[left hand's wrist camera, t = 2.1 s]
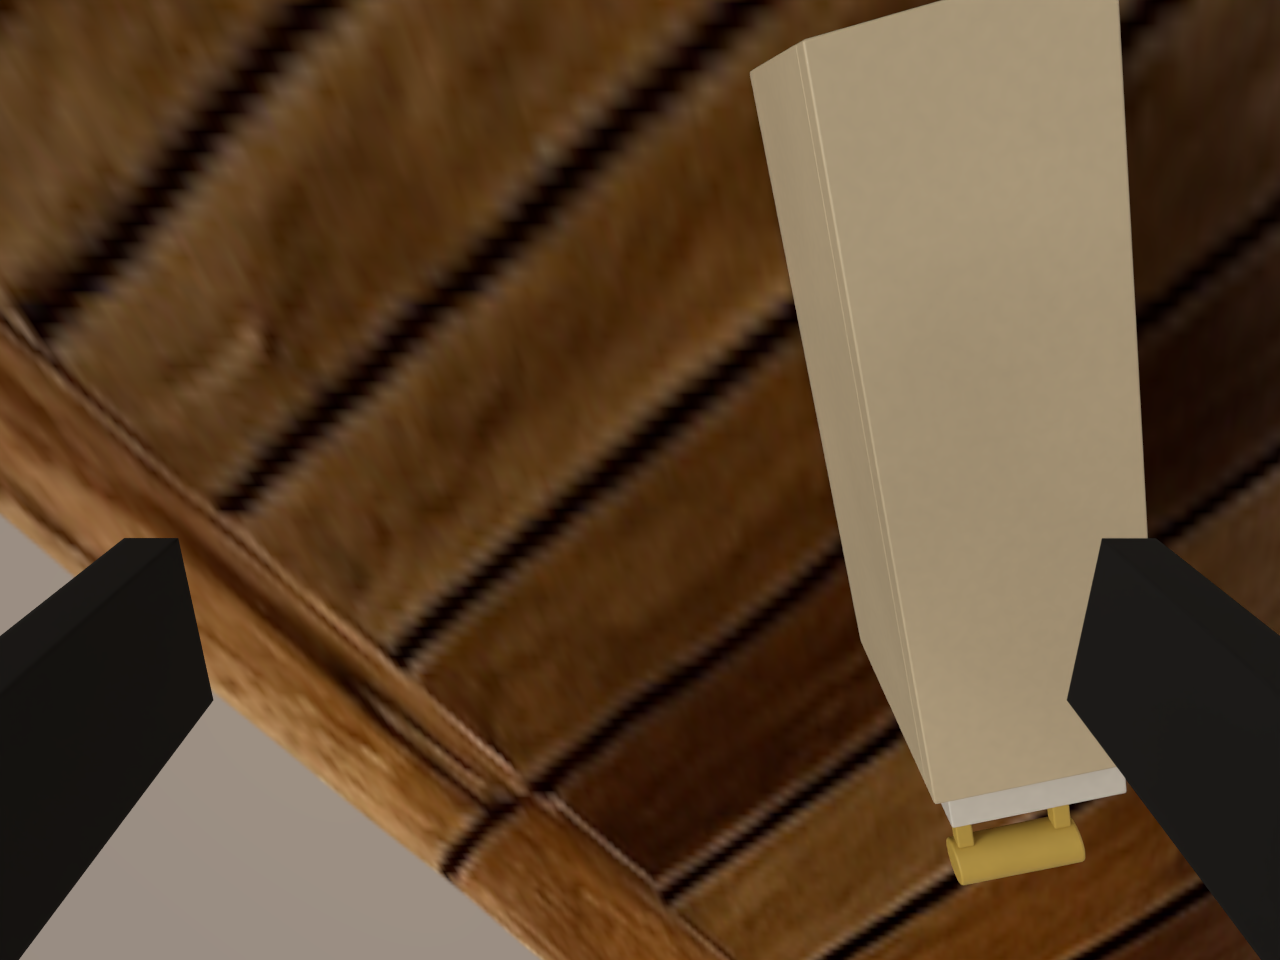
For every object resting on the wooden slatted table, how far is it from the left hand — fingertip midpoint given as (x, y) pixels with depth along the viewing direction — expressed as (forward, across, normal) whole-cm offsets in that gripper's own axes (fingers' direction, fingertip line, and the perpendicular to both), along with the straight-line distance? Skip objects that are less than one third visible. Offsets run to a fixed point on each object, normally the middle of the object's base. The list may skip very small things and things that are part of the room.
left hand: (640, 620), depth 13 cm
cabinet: (+19, +9, -1) cm, 22 cm away
